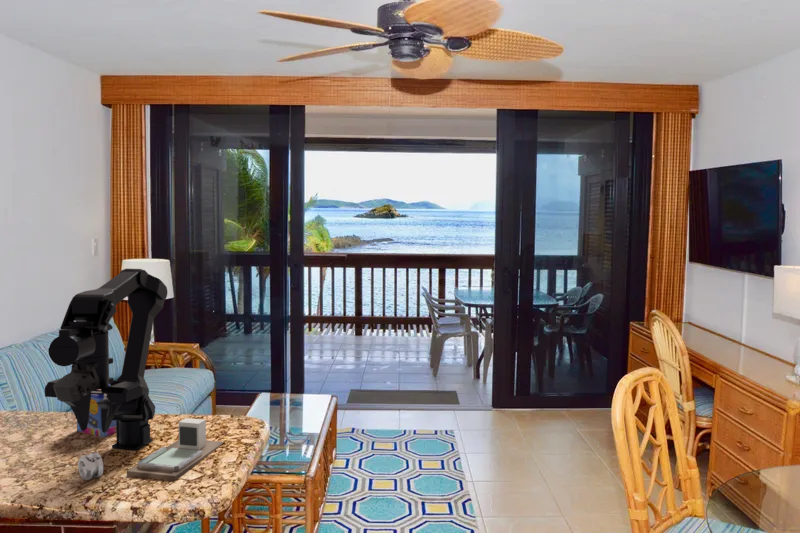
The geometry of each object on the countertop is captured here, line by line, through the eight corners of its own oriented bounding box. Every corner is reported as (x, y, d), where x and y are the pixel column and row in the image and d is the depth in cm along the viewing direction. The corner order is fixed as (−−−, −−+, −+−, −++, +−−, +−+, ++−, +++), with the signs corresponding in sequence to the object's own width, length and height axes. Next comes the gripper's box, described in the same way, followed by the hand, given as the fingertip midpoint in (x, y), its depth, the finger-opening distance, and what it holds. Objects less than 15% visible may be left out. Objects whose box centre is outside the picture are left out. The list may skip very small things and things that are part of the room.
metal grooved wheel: (103, 479, 121) (103, 455, 121) (88, 484, 119) (87, 459, 119) (92, 473, 124) (91, 449, 124) (77, 477, 122) (76, 453, 122)
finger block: (177, 448, 135) (177, 422, 135) (186, 443, 139) (185, 418, 138) (198, 450, 134) (197, 424, 134) (205, 445, 137) (205, 419, 137)
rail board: (126, 476, 123) (126, 470, 123) (181, 443, 142) (181, 437, 142) (175, 481, 120) (175, 475, 120) (224, 447, 140) (224, 441, 140)
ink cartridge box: (75, 433, 148) (73, 375, 147) (95, 427, 153) (94, 371, 152) (100, 440, 143) (99, 381, 142) (121, 434, 148) (120, 376, 147)
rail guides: (135, 467, 124) (135, 463, 124) (163, 451, 134) (163, 446, 134) (177, 472, 122) (177, 467, 122) (202, 454, 132) (202, 450, 132)
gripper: (21, 361, 115) (23, 440, 116) (106, 366, 112) (107, 448, 113) (64, 350, 126) (66, 422, 127) (143, 354, 123) (144, 429, 123)
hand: (94, 431), depth 122 cm, fingers open, 4 cm apart
